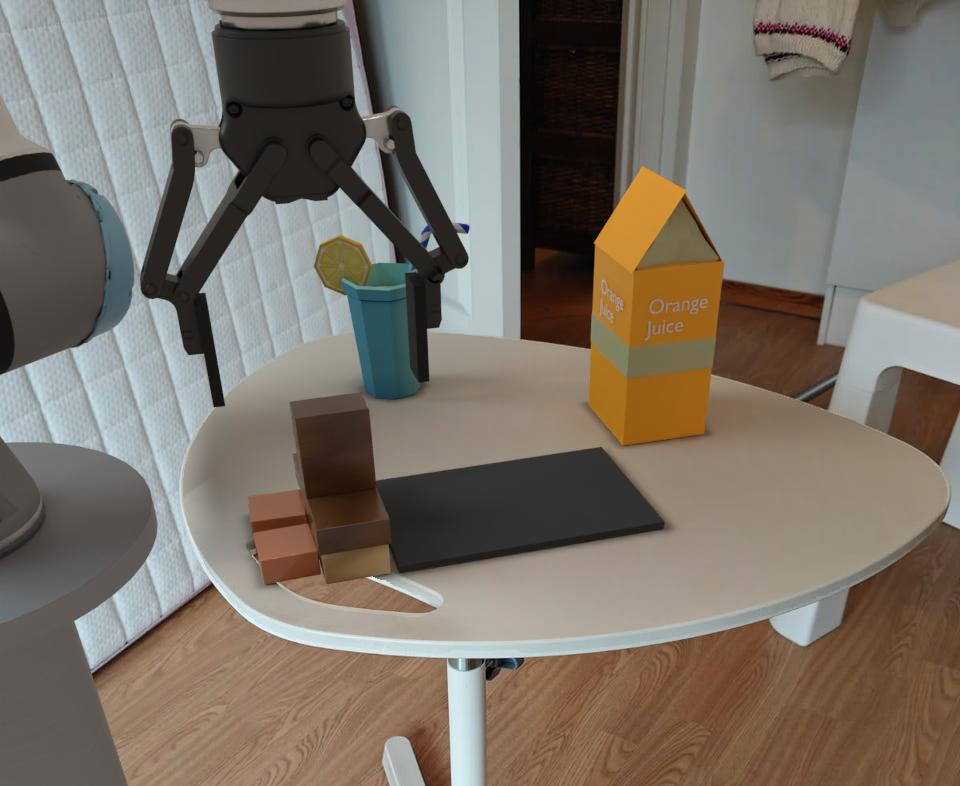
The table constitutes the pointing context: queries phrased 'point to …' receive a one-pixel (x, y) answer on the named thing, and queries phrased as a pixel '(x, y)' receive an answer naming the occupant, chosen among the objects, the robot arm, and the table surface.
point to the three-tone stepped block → (341, 486)
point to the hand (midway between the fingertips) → (321, 387)
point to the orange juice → (653, 315)
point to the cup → (375, 311)
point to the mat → (511, 508)
